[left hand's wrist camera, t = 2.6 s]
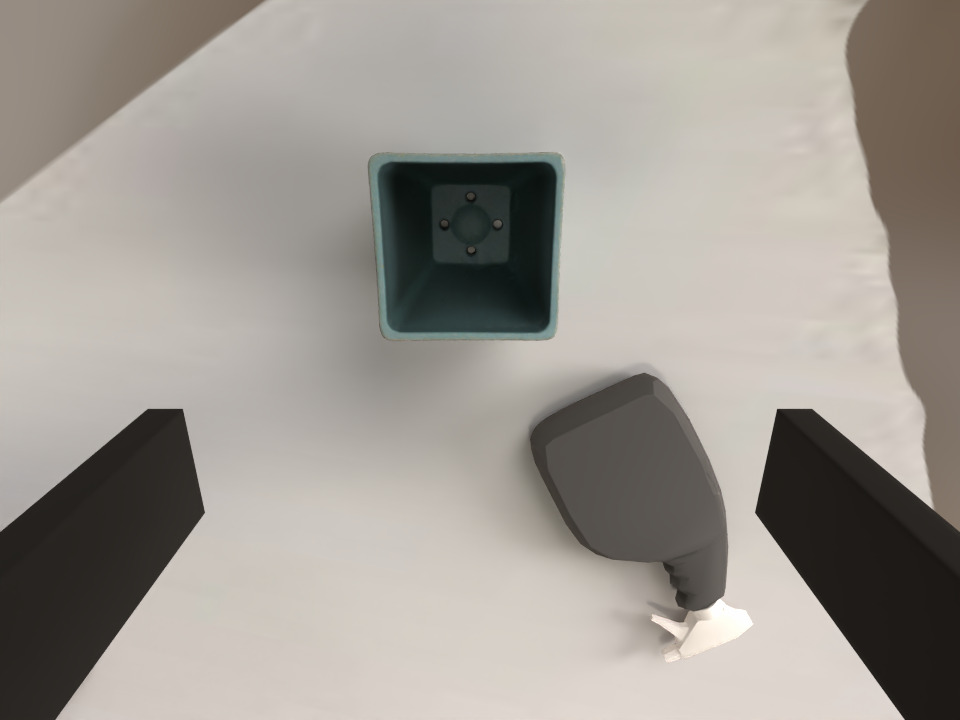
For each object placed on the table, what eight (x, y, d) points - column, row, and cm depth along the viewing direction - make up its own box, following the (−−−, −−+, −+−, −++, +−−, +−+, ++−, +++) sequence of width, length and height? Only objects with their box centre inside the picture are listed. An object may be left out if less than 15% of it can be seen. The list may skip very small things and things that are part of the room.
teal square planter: (401, 295, 37) (379, 342, 28) (393, 148, 33) (366, 152, 25) (539, 294, 37) (557, 341, 28) (543, 147, 34) (566, 151, 25)
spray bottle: (659, 357, 38) (771, 603, 46) (513, 427, 40) (646, 652, 48) (674, 375, 35) (790, 633, 44) (516, 449, 37) (656, 683, 46)
